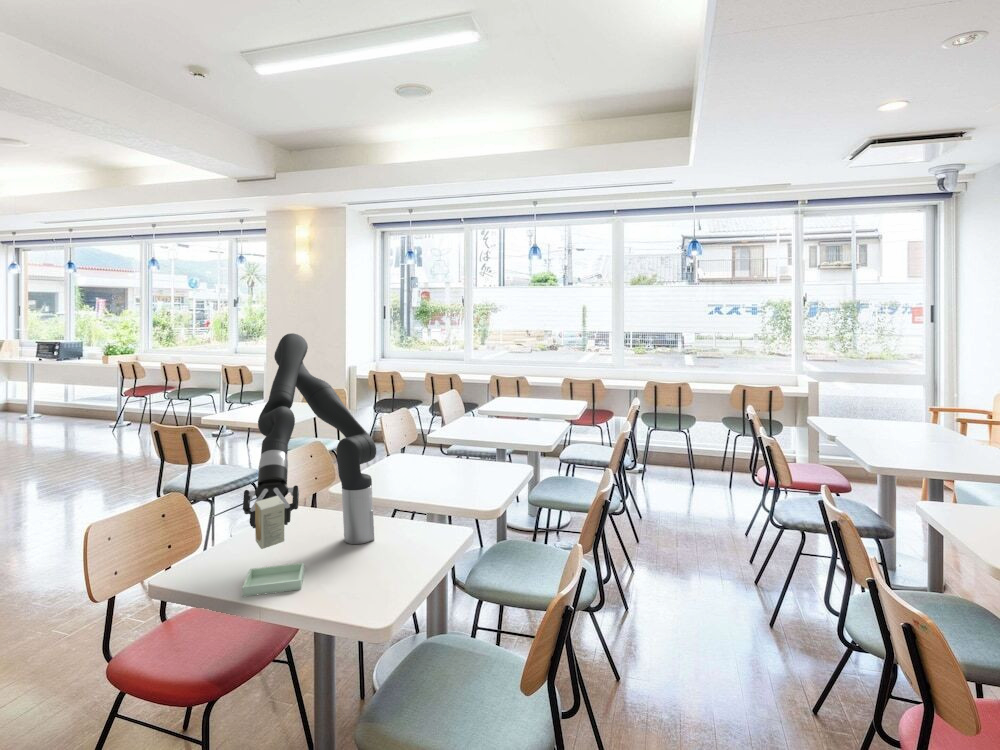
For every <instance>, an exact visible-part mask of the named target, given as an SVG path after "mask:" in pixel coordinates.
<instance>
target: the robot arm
mask: <svg viewBox="0 0 1000 750" xmlns="http://www.w3.org/2000/svg"><path fill="white" fill-rule="evenodd" d="M308 349H309V347H308V343H307V341H306V339H305V338H304V337H303V336H301V335H300V334H298V333H287V334H285V335H283V336H282V337H281V339H280V340H279V342H278V344H277V347H276V350H275V351H274V356H273V357H274V361H275V362H276V364H277V366H278V367H277V371H276V374H275V376H274V378H273V381H272V385H271V389H270V391H269V396H268V400H267V401H266V404H265V405H264V407H263V408H262V410H261V412H260V414H259V417H258V421H257V427H258V430H259V432H260V433H261V435H263V436H264V439H263V440H262V441H261V442H262V443H261V451H260V452H261V453H260V459H259V464H258V476H257V487H256V489H255V490H250V491H249V490H248V489H245V490H244V491H243V501H242V511H243V513H244V514H245V515H249V524H250V527H251V528H252V529H255V502H257V501H260V500H263V499H267V498H270V497H274V496H279V497H280V498H281V499H282V501H283V502H284V526H288V524H289V523H290V522H291V512H292V511H293V510H298V508H299V500H300V499H299V497H300V490H299V489H300V488H299V486H298V485H297V484H296V485H294V486H293V487H288V470H289V460H288V450H289V449H288V448H289V446H288V445H289V442H290V441H291V437H292V434H293V431H294V428H295V425H296V423H295V422H296V419H295V417H296V416H295V415H294V413H293V411H292V409H291V408H292V407H293V403H294V398H295V394H296V393H295V392H296V389H297V390H298V391H299V393H300V395H301V396H302V397H303V398H304V400H305V402H306V403H307V405H308V407H310V409H311V411H312V412H313V413H314V415H315V416H316V417H317V418H319V419H320V420H321V421H323V422H325V423H326V424H327V425H330V426H331V427H332V428H335V429H336V430H338V431H339V432H340V433H341V434H342V435H343V436H344V437H345V438H342V439H340V440H339V442H338V443H337V446H336V460H337V461H336V462H337V463H336V464H337V471H338V473H337V474H338V477H339V481H340V483H341V496H342V497H341V499H342V517H343V518H342V519H343V523H342V524H343V538H344V539H343V540H344V542H345V543H347V544H350V545H361V544H365V543H368V542H372V541H375V526H374V524H375V523H374V521H375V520H374V504H373V486H372V485H373V483H372V482H373V481H372V480H373V479H372V476H371V475H370V474H368V473H362V470H361V465H363V464H366V463H368V462H371V461H373V460H374V459H375V457H376V455H377V446H376V443H375V441H374V439H373V437H371V435H370V434H369V433H368V432H367V430H365V428H364V427H363V426H362V425H361V424H360V422H359V421H357V419H355V416H353V415H352V413H351V412H350V411H349V409H348V408H347V407H346V405H345V404H344V402H343V401H342V400H341V398H340V396H339V395H338V394H337V392H336V391H335V390H334V388H333V387H332V385H331V384H330V383H328V382H327V381H325V380H323V379H321V378H319V377H316V376H314V375H312V374H311V373H310V371H309V370H308V369H307V367H306V366H305V364H304V362H303V361H304V359H305V357H306V355H307V352H308ZM289 493H290V495H291V496H292V502H291V503H289V502H288V500H286V497H287V495H288V494H289ZM254 497H256V499H255V501H254V504H253V505H252V506H251V500H253V499H254Z"/></svg>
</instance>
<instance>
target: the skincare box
mask: <svg viewBox="0 0 1000 750" xmlns="http://www.w3.org/2000/svg"><path fill="white" fill-rule="evenodd" d="M254 503H255V528H254V529H255V534H254V535H255V536H254V537H255V542H256V544H257V545H258V547H259V548H260V549H261V550H263V549H266V548H271V547H272V546H275V545H278V544H281V543H284V542H285V525H284V502H283V501H282V499H281V498H280V497H279V496H274V497H270V498H267V499H263V500H260V501H257V502H255V501H254Z"/></svg>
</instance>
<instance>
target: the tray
mask: <svg viewBox="0 0 1000 750" xmlns="http://www.w3.org/2000/svg"><path fill="white" fill-rule="evenodd" d="M304 576H305V562H298V563H290V564H288V563H287V564H282V565H273V566H264V567H257V568H250V569H249V571H248V572H247V576H246V578H245V581H244V583H243V585H242V597H243V596H246V597H250V596H249V595H253V596H258V595H257V594H261V595H266V594H265V593H269V594H276V593H275V592H277V593H283V592H284V591H285V592H290V591H298V590H302V586H303V582H304Z"/></svg>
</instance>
